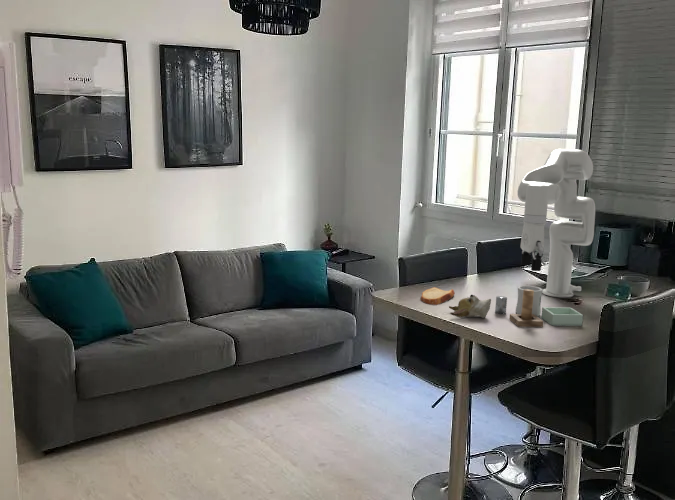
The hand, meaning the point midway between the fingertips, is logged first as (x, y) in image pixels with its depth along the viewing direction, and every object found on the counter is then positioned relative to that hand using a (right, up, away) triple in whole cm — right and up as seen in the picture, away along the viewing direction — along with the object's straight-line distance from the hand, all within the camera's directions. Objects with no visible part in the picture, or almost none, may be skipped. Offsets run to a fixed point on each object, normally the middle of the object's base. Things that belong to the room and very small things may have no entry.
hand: (530, 267), depth 233 cm
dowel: (-1, -20, +4) cm, 20 cm away
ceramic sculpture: (-20, -19, +10) cm, 29 cm away
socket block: (-1, -20, +4) cm, 20 cm away
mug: (+4, -18, +17) cm, 25 cm away
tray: (+13, -20, +7) cm, 25 cm away
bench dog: (-7, -17, +16) cm, 25 cm away
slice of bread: (-27, -14, +35) cm, 46 cm away
